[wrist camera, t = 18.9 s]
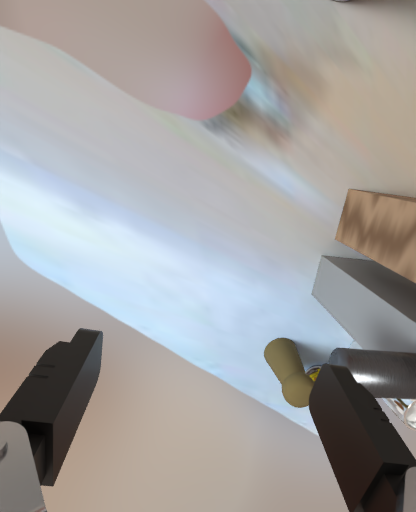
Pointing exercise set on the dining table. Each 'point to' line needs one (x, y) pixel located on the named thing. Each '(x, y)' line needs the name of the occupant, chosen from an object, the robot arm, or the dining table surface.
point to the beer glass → (398, 404)
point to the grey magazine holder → (369, 302)
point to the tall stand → (381, 229)
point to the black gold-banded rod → (380, 371)
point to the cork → (289, 371)
